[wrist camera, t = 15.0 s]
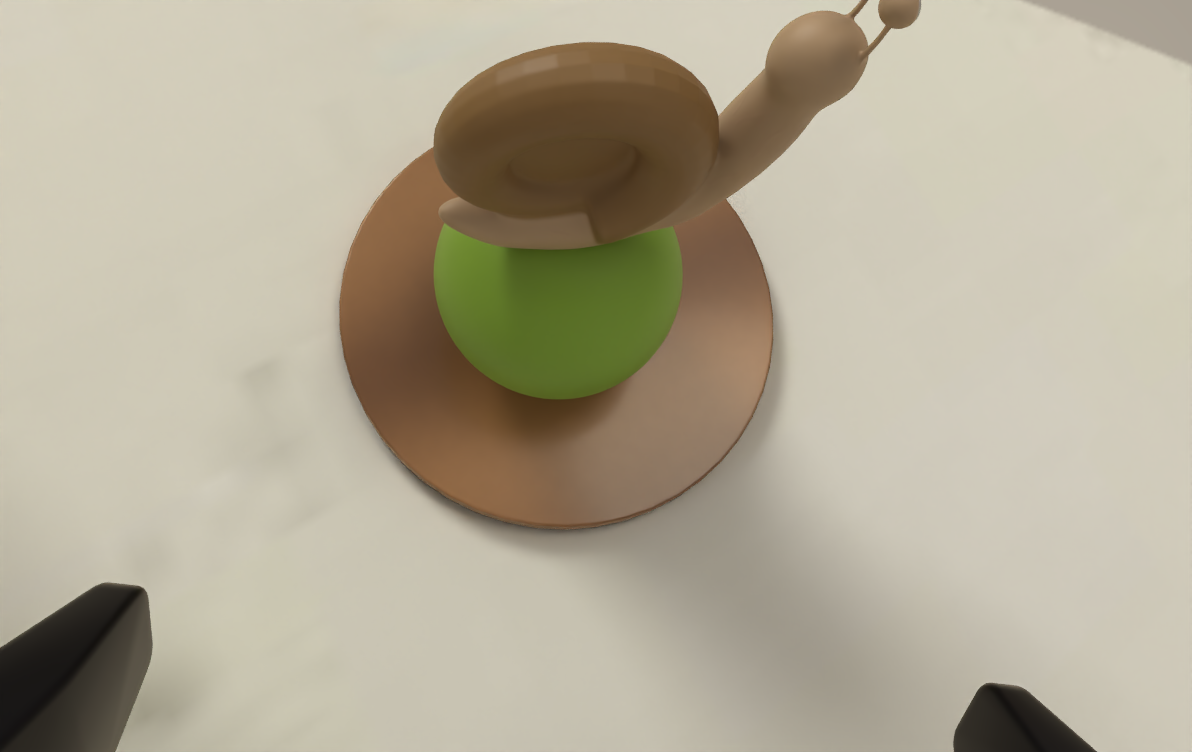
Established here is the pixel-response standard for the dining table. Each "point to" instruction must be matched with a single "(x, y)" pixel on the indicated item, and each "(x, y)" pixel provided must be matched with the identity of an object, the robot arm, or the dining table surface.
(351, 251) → the plate
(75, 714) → the robot arm
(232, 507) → the dining table surface
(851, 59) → the snail figurine
